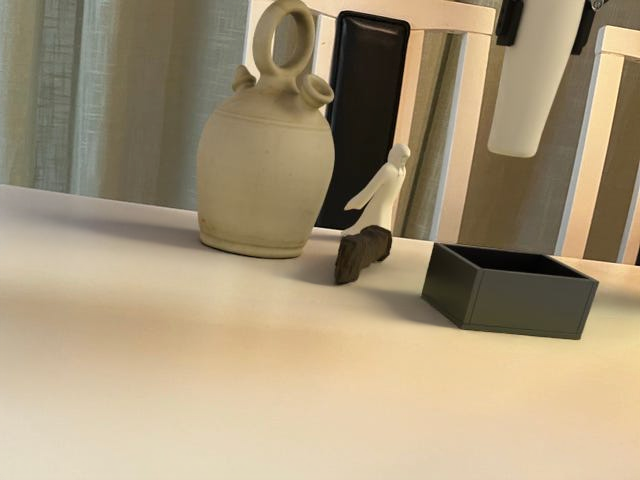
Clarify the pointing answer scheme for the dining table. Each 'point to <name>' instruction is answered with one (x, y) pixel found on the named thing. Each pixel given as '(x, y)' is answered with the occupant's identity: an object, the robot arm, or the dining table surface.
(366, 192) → the figurine
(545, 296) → the bin
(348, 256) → the rough brown chunk
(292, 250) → the jug
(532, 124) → the drinking glass
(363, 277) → the dining table surface
